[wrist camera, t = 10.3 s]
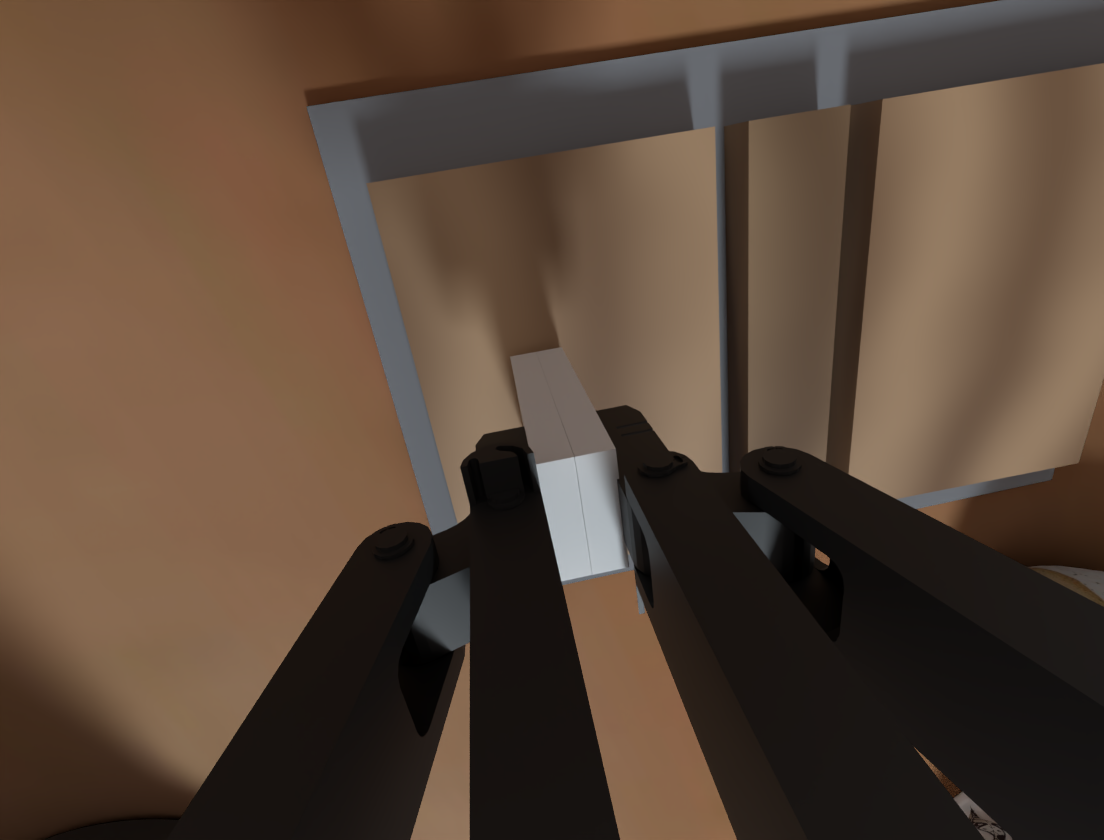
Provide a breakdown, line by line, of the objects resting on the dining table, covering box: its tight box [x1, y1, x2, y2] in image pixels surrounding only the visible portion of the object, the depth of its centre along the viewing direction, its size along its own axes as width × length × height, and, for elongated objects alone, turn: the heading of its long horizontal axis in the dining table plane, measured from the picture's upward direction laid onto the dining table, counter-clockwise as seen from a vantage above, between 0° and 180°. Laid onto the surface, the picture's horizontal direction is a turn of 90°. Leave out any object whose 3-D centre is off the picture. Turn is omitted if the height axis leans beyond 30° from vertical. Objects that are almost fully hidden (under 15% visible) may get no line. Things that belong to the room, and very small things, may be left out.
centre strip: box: [724, 104, 851, 472], centre depth 18 cm, size 3×13×2 cm, turn 9°
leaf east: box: [826, 63, 1104, 499], centre depth 18 cm, size 9×13×1 cm
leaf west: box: [366, 127, 722, 554], centre depth 17 cm, size 9×13×1 cm
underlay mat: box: [307, 0, 1104, 585], centre depth 18 cm, size 25×17×1 cm
